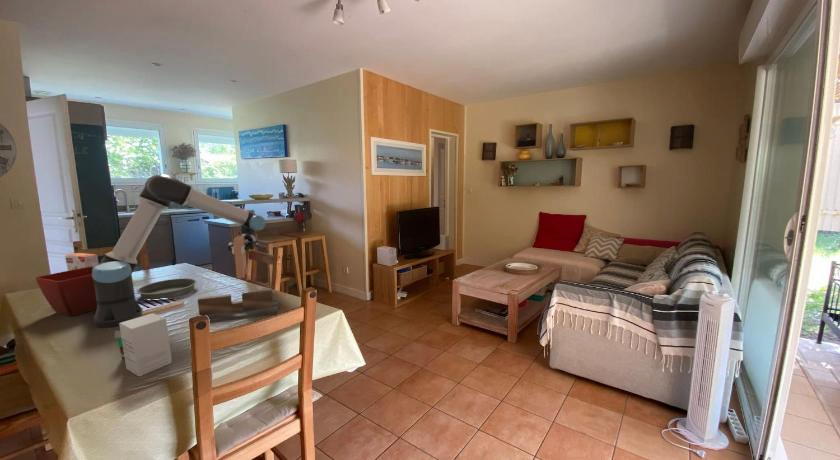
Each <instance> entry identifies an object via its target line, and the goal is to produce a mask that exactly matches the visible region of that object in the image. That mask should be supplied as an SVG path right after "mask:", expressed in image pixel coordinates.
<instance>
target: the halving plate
mask: <svg viewBox="0 0 840 460" xmlns="http://www.w3.org/2000/svg"><path fill="white" fill-rule="evenodd" d="M233 243H234V252H235V253H234V261H235V274H236V275H235V276H236V279H244V278H245V276H246V275H247V274H248V269H247V256H246V251H245V252H244V253H242V252H241V247H242V246H243V245H245V240H244V236H241V235H237V236H236V237H234V238H233Z"/></svg>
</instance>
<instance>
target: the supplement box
mask: <svg viewBox="0 0 840 460" xmlns="http://www.w3.org/2000/svg"><path fill="white" fill-rule="evenodd" d="M118 326H119V331H120V332H121V338H122V344H123V350H124V356H125V359H124V362H125V363H124V364H125V369H126V370H128V371H129V372H131V373H132V374H134V375H136V376H137V377H142V376H144V375H146V374H148V373H151V372H154V371H157V370H158V369H161V368H163V367H166V366H168V365H170V364H172V363H173V359H172V350H171V344H170V337H169V330H168V323H167V318H166V317H163V316H161V315H158V314H156V313H154V312H153V313H149V314H146V315H143V316H142V317H138V318H135V319H132V320H128V321H125V322H121V323H119V325H118Z"/></svg>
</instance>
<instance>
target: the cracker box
mask: <svg viewBox="0 0 840 460" xmlns="http://www.w3.org/2000/svg"><path fill="white" fill-rule="evenodd" d="M64 257H65V264H66V267H67V271H69V270H75V269H80V268H85V267H95V266H97V265H99V264H100V262H99V255H98V254H95V253H83V252H75V253H70V254H69V253H68V254H66V255H65V256H64Z"/></svg>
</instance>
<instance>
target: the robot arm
mask: <svg viewBox="0 0 840 460" xmlns="http://www.w3.org/2000/svg"><path fill="white" fill-rule="evenodd" d="M138 198H139V200H140V202H139V204H138V206H137V207H136V209H135V211H134V213H133V214H132V216H131V217H130V220H129V221H128V224H127V225H126V226H125V228H124V230H123V232H122V233H121V235H120V238H119V239H118V241H117V242H116V244H115V246H114V247H113V249H112V250H111V251H110V252H106V253H105V254H104V256H103V257H102V259H101V260H100V262H99V265H97V266H95V267H94V268H93V270H92V278H93V281H94V288H95V294H96V300H97V309H95V313H94V317H93V325H94V327H95V328H109V327H110V328H111V327H112V328H113V327H117V326H120V325H119V323H121V322H125V321H128V320H132V319H135V318H138V317H142V316H144V314H142V313H143V309H142V308H141V306H140V304H139V303H138V301H137V300H136V295H135V290H134V289H135V288H134V282H133V276H132V274H133V273H134V271H135V269H136V267H137V265H138V260H137V256H138V254H139V253H140V251H141V250H142V248H143V246H144V244H145V242H146V241H147V239H148V237H149V236H150V233H151V232H152V230H153V228H154V226H155V225H156V223H157V221H158V219H159V218H160V216H161V214H162V212H163V211H164V210H167V209H169V208H170V206H171V205H172V203H173V204H176V205H179V206H188V207H191V208H194V209H197V210H199V211H201V212H204V213H208V214H211V215H212V216H215V217H218V218H220V219H221V218H222V219H223V220H226V221H229V222H231V223H235V224H236V225H237V224H238V225H239V229H240V231H239V233H240V236H244V240H245V245H243V246H242V247H241V252H242V253H244V252H245V253H246V252H247V251H249V250H254V249H255V248H257V247H259V240H258V234H257V231H261V230H263V229H264V228H265V227H266V224H267V223H266V219H265V218H264V217H263V216H262V215H259V214H256V213H255V212H256V211H255V209H253V208H252V209H250V208H245V209H243V208H241V207H238V206H236V205H233V204H230V203H228V202H225V201H223V200H221V199H219V198H215V197H213V196H211V195H209V194H207V193H203V192H201V191H199V190H197V189H196V190H195V189H194V188H193V186H192V185H190V184H188V183H185V182H183V181H182V180H180V179H178V178H176V177H174V176H172V175H170V174H155V175H152V176H150V177H148V179H146V181H145V183H144V187H143V189H142V190H141V192H140V194H139V195H138ZM227 250H228V251H229V252H231V253H232V254H233V255H235V252H234V241H233V242H231V241H229V242H228V245H227Z"/></svg>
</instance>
